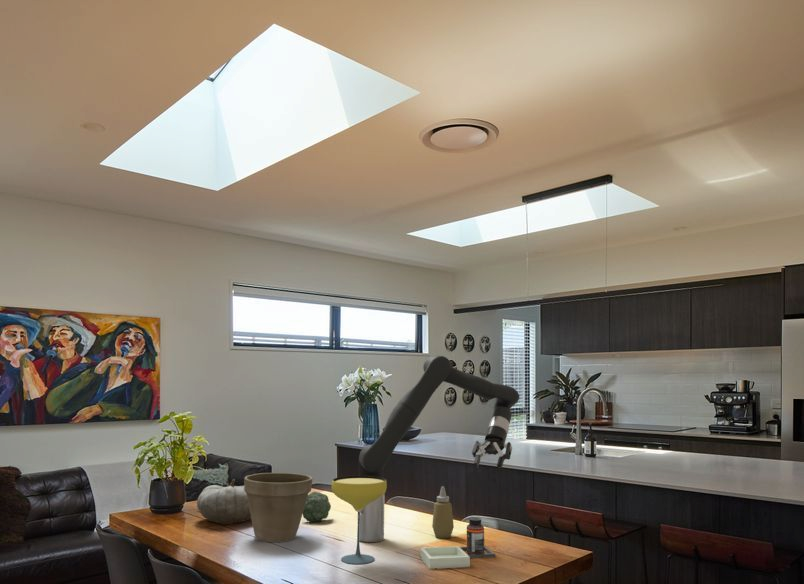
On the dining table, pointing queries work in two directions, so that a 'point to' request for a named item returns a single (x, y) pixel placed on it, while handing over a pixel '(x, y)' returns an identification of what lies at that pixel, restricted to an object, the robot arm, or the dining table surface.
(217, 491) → the gourd
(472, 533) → the supplement bottle
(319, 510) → the vegetable
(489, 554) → the socket collar
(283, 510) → the plant pot
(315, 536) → the dining table surface
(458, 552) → the dish
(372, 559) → the cocktail glass
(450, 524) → the squeeze bottle
